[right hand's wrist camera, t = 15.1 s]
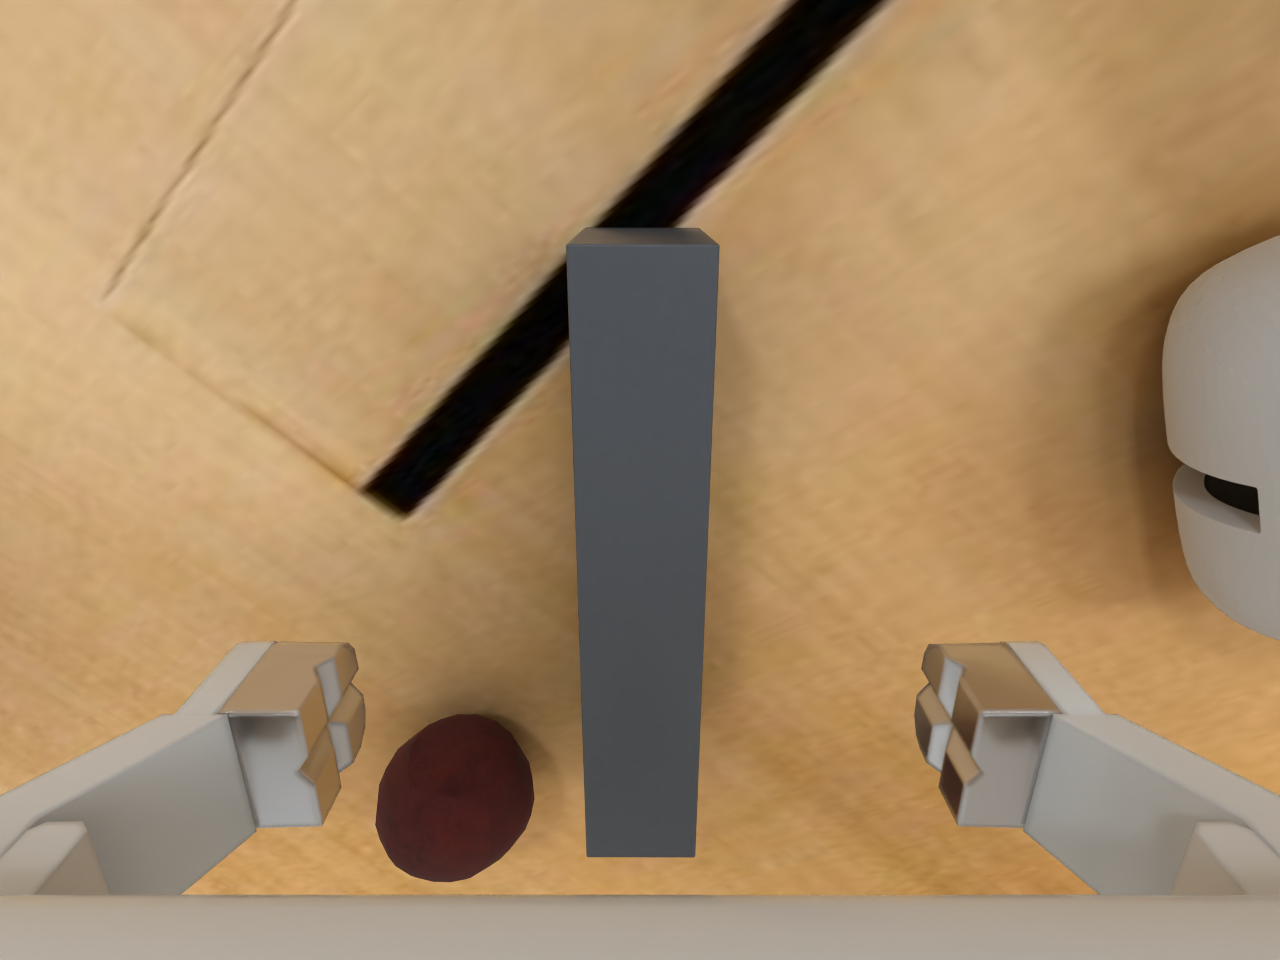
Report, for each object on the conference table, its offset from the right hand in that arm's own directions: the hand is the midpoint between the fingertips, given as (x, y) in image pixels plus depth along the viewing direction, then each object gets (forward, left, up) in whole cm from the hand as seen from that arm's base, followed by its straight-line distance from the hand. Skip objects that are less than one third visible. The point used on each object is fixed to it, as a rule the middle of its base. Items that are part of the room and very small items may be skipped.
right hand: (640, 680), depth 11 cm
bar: (-2, +7, -23) cm, 24 cm away
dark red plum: (+3, +23, -23) cm, 32 cm away
